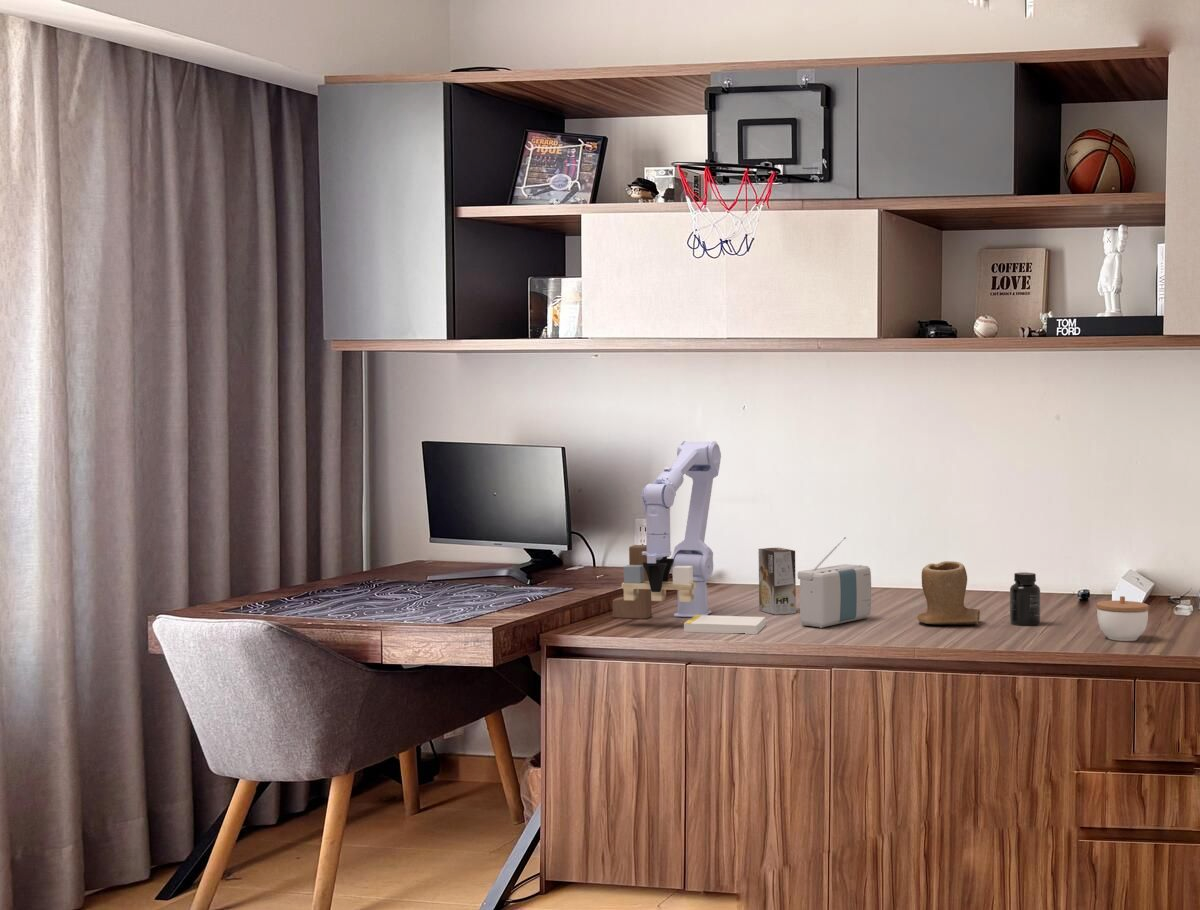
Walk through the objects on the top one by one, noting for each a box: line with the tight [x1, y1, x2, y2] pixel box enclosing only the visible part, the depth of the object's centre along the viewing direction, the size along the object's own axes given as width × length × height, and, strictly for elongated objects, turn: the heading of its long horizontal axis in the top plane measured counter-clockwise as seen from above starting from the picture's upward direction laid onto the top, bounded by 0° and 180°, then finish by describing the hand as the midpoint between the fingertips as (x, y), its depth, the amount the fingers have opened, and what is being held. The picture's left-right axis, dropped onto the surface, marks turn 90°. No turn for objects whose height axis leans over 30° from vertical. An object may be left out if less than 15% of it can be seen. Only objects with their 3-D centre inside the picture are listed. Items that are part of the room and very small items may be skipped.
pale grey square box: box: [623, 564, 644, 584], centre depth 321 cm, size 4×4×4 cm
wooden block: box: [612, 544, 652, 620], centre depth 333 cm, size 9×4×18 cm, turn 71°
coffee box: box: [758, 547, 797, 616], centre depth 339 cm, size 9×6×16 cm
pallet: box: [621, 581, 696, 602], centre depth 319 cm, size 5×17×4 cm, turn 74°
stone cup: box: [916, 560, 981, 626], centre depth 316 cm, size 15×12×15 cm
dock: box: [683, 614, 767, 635], centre depth 314 cm, size 13×17×2 cm
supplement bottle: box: [1009, 571, 1041, 627], centre depth 316 cm, size 7×7×12 cm
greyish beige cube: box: [672, 566, 693, 585], centre depth 317 cm, size 4×4×4 cm
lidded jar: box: [1096, 596, 1150, 642], centre depth 294 cm, size 11×11×9 cm
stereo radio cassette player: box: [797, 536, 872, 629], centre depth 321 cm, size 21×8×20 cm, turn 136°
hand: (658, 590), depth 319 cm, fingers closed on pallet, 5 cm apart
